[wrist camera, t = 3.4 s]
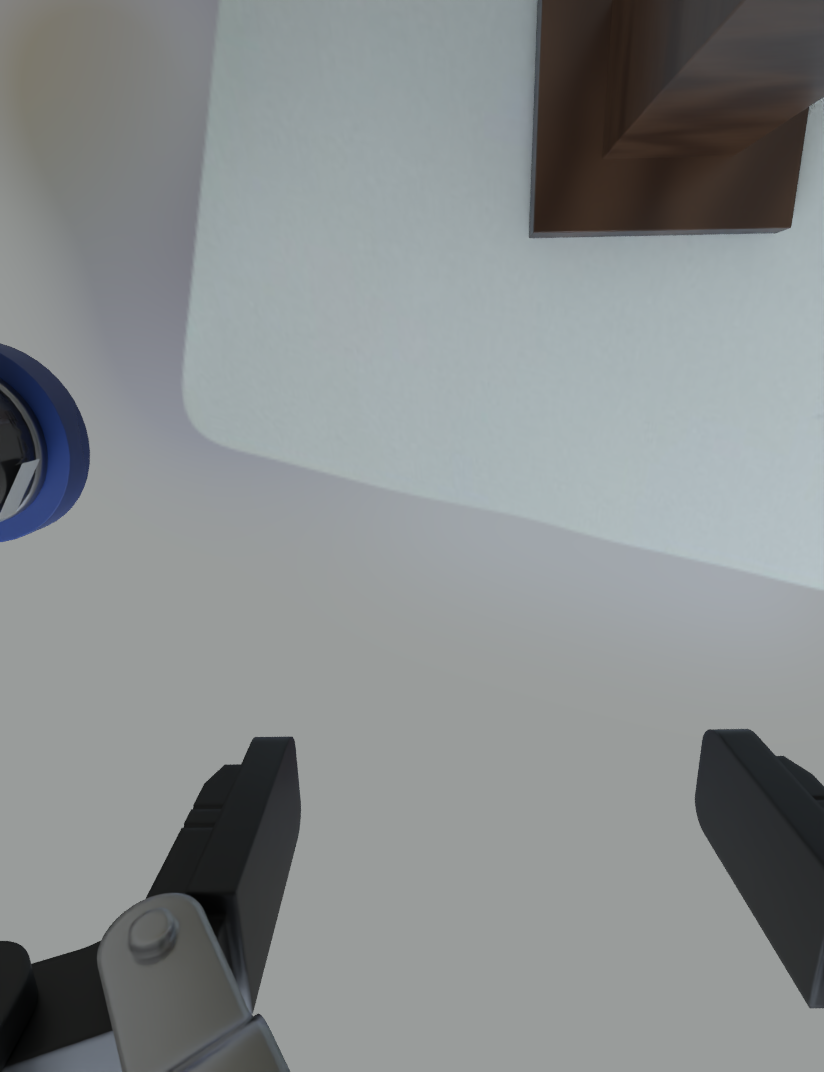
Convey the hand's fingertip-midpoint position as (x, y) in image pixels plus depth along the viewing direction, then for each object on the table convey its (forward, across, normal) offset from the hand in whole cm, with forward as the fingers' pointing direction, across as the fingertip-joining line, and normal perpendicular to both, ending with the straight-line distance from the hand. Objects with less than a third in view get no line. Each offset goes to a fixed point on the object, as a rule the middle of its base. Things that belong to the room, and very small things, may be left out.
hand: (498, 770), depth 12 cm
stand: (+22, +10, +19) cm, 31 cm away
